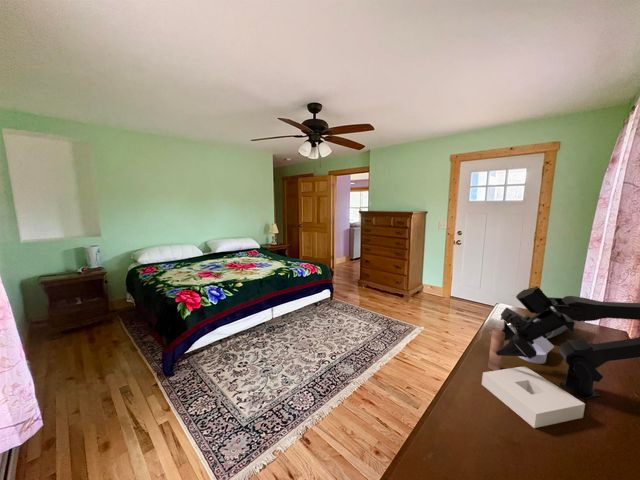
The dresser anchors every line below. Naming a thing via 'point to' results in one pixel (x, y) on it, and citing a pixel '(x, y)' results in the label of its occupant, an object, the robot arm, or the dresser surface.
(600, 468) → the dresser surface
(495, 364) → the peg
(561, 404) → the hole block
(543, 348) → the wedge on round base
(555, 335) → the bluetooth speaker
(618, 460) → the dresser surface
